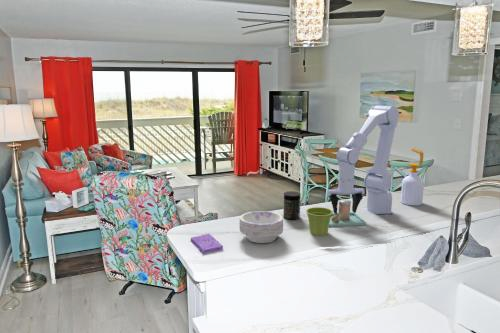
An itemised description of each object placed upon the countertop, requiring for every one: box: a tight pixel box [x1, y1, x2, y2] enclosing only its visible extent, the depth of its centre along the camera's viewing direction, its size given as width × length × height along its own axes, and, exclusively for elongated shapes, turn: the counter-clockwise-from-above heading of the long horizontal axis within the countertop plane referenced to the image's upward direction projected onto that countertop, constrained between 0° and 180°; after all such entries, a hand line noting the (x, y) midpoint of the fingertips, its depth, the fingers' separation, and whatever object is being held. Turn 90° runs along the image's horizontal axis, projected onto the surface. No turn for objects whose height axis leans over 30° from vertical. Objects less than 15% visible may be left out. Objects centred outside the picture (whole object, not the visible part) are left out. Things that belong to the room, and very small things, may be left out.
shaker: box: [337, 199, 352, 221], centre depth 152 cm, size 5×5×7 cm
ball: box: [331, 215, 340, 223], centre depth 148 cm, size 3×3×3 cm
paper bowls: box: [239, 210, 284, 244], centre depth 135 cm, size 15×15×8 cm
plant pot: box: [305, 206, 334, 237], centre depth 139 cm, size 9×9×9 cm
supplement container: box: [282, 190, 302, 221], centre depth 154 cm, size 7×7×10 cm
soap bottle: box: [400, 147, 425, 207], centre depth 172 cm, size 9×9×25 cm
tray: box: [329, 211, 367, 228], centre depth 151 cm, size 16×12×2 cm
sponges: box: [190, 233, 224, 254], centre depth 131 cm, size 7×13×2 cm, turn 27°
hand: (344, 212), depth 152 cm, fingers open, 7 cm apart
